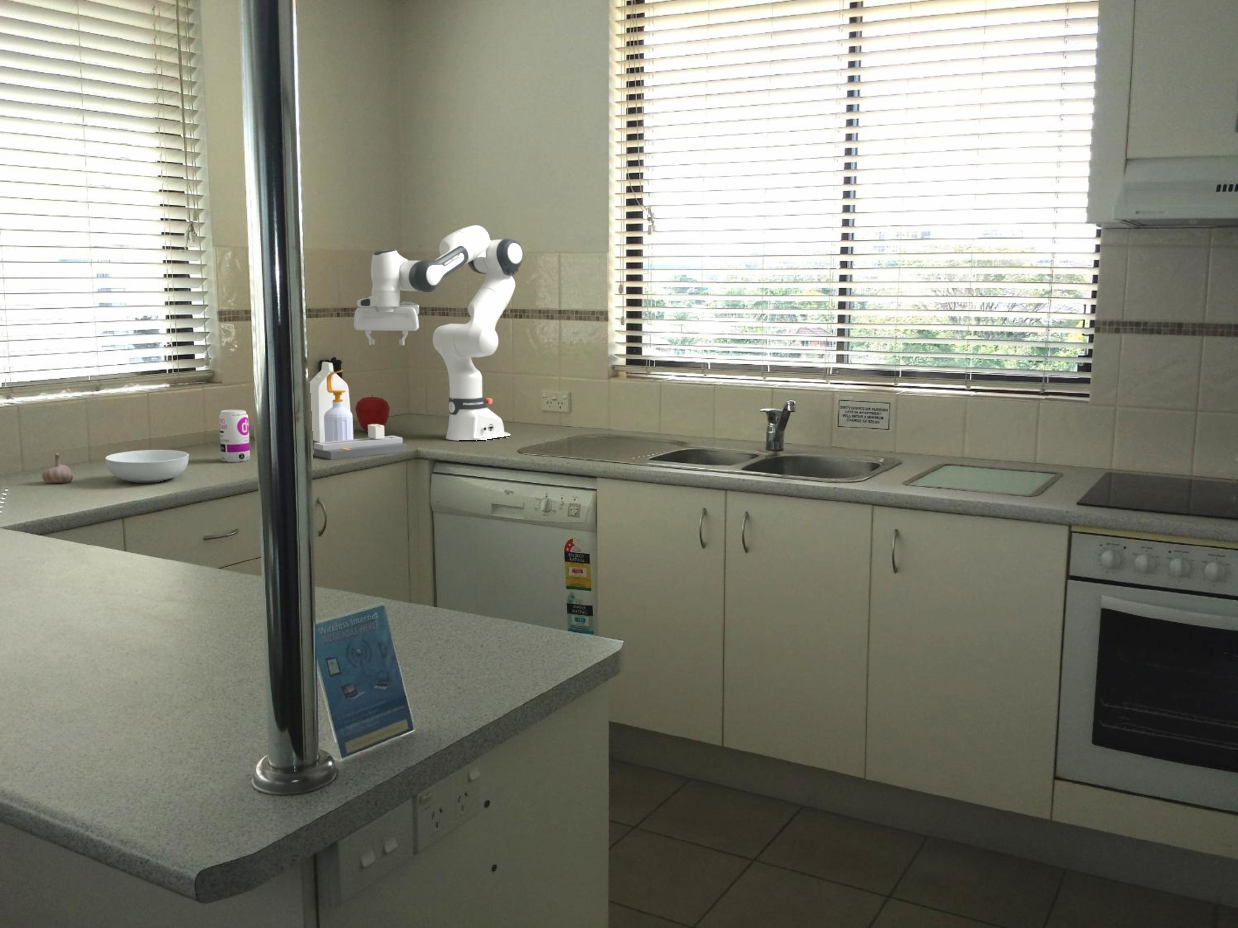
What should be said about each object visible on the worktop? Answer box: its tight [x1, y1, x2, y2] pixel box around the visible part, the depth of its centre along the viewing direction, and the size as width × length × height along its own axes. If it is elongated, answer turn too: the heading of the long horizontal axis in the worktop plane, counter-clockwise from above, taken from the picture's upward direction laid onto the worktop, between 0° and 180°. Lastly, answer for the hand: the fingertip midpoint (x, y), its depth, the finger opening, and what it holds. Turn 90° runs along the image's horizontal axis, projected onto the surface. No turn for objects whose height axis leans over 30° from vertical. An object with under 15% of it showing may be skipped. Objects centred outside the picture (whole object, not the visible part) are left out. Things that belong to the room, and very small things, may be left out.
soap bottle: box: [324, 369, 354, 442], centre depth 370 cm, size 9×9×25 cm
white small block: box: [367, 424, 385, 440], centre depth 358 cm, size 3×5×6 cm, turn 40°
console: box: [312, 435, 408, 460], centre depth 355 cm, size 27×14×4 cm, turn 130°
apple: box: [354, 394, 391, 432], centre depth 403 cm, size 12×12×13 cm
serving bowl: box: [104, 449, 190, 484], centre depth 305 cm, size 21×21×7 cm
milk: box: [309, 361, 351, 443], centre depth 384 cm, size 12×12×26 cm
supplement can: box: [218, 409, 251, 463], centre depth 338 cm, size 8×8×15 cm
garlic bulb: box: [41, 453, 74, 484], centre depth 301 cm, size 8×7×8 cm
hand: (386, 345), depth 361 cm, fingers open, 8 cm apart
